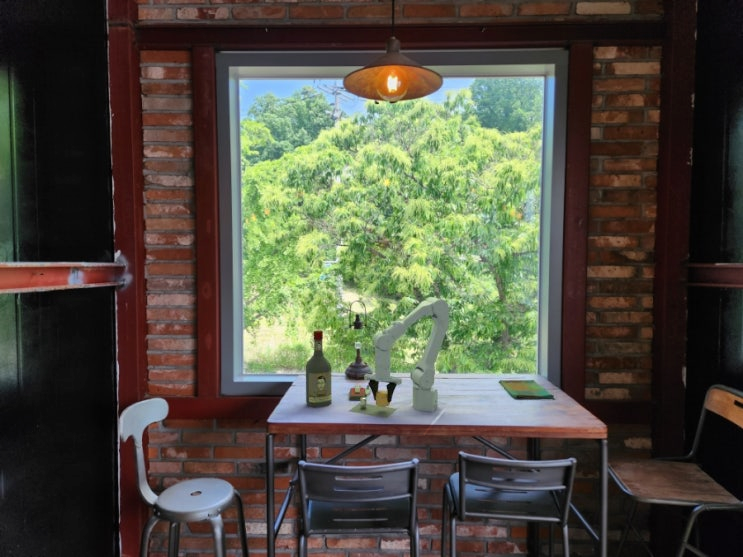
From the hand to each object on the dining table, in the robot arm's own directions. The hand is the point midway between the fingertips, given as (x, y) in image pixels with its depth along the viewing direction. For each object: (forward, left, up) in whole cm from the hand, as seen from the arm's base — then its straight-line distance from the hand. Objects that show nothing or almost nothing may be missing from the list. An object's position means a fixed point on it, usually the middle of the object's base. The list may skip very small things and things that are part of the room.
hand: (382, 400), depth 164 cm
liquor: (+27, +2, -5) cm, 28 cm away
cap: (0, 0, -1) cm, 1 cm away
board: (+4, 0, -5) cm, 7 cm away
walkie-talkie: (+17, -15, -6) cm, 24 cm away
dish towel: (-46, -52, -6) cm, 70 cm away
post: (+8, 0, -4) cm, 9 cm away
